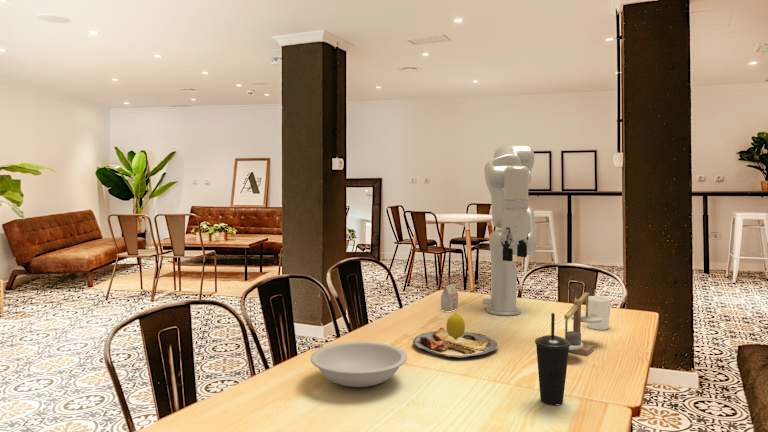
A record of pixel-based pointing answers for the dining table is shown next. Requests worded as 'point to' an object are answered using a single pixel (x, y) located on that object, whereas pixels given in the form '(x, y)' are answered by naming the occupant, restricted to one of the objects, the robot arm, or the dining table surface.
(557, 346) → the drinking cup
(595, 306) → the white cup
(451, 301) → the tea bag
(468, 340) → the food plate
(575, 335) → the balance
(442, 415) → the dining table surface
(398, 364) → the soup bowl
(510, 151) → the robot arm
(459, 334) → the lemon
